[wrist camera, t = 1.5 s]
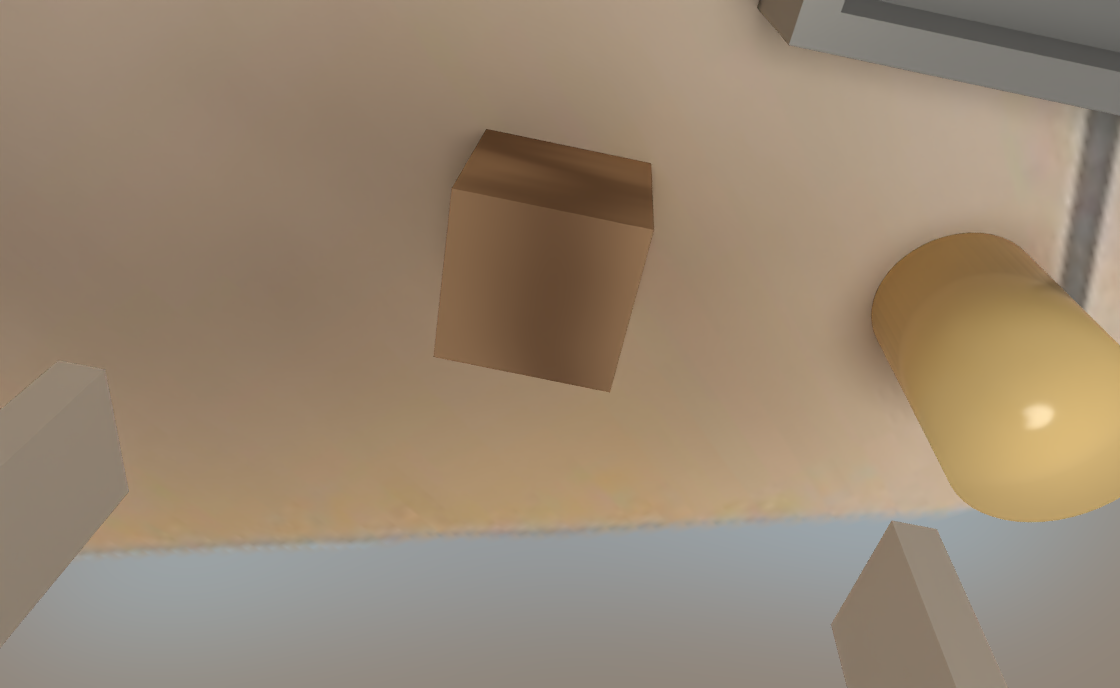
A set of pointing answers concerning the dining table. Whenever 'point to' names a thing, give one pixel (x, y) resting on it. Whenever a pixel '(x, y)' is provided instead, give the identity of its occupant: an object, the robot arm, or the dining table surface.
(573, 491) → the dining table surface
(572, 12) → the dining table surface
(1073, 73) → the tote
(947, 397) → the ochre canister
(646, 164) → the walnut cube
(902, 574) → the robot arm
